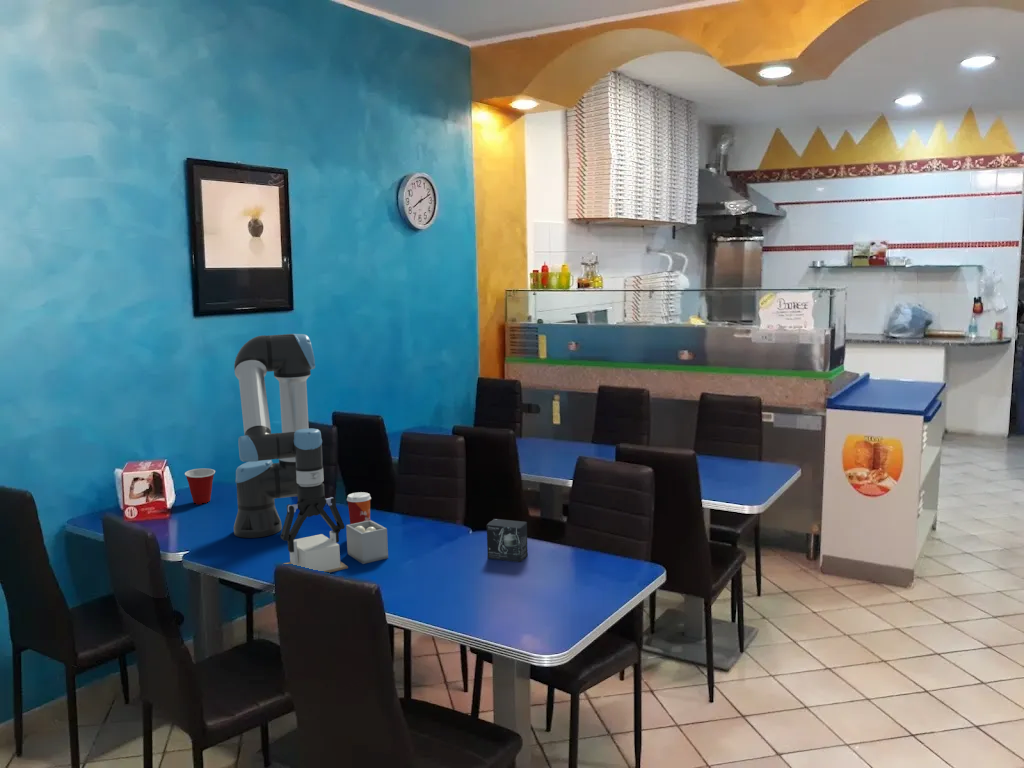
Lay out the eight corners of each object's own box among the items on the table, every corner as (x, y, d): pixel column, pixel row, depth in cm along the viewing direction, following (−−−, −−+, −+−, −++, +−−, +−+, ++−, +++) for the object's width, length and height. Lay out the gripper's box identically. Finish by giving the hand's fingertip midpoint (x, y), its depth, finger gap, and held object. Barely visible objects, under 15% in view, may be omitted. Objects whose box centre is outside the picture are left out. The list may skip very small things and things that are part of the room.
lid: (290, 562, 241) (289, 540, 240) (323, 555, 247) (321, 533, 246) (306, 575, 230) (305, 552, 230) (340, 567, 236) (339, 544, 235)
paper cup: (367, 541, 260) (365, 498, 259) (344, 540, 262) (342, 497, 260) (376, 534, 268) (374, 491, 266) (354, 533, 269) (352, 491, 268)
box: (486, 559, 242) (485, 524, 240) (495, 552, 248) (494, 518, 246) (520, 562, 238) (519, 527, 237) (528, 555, 244) (527, 521, 243)
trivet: (283, 565, 240) (282, 563, 240) (328, 555, 248) (328, 553, 248) (300, 579, 229) (300, 577, 229) (347, 568, 237) (347, 566, 237)
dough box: (347, 554, 249) (346, 525, 248) (372, 548, 254) (370, 520, 252) (363, 563, 240) (361, 533, 239) (388, 558, 245) (386, 528, 243)
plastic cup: (195, 508, 305) (193, 476, 303) (181, 503, 312) (179, 472, 310) (223, 501, 313) (220, 470, 311) (208, 497, 320) (206, 466, 318)
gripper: (274, 493, 226) (279, 570, 229) (354, 479, 239) (357, 553, 242) (265, 487, 232) (270, 563, 235) (343, 474, 245) (347, 546, 248)
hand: (314, 558), depth 238 cm, fingers open, 11 cm apart
